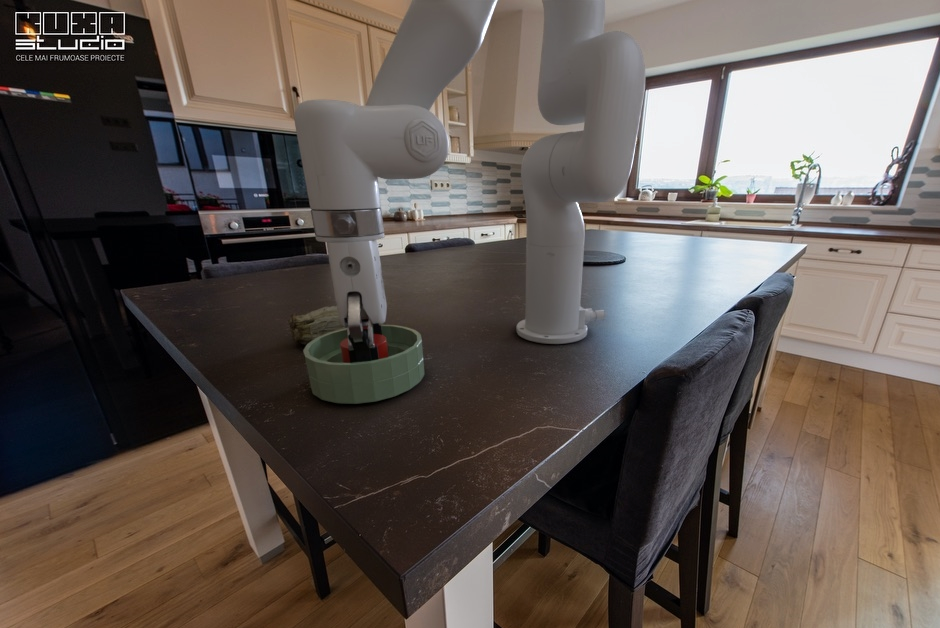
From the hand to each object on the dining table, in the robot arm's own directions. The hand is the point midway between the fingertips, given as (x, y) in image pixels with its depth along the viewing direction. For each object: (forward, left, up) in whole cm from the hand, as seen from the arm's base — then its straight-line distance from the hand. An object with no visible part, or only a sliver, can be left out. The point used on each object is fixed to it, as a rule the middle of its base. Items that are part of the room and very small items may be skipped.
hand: (370, 362), depth 52 cm
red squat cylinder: (0, 0, -2) cm, 2 cm away
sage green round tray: (0, 0, -3) cm, 3 cm away
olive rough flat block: (+7, -19, -3) cm, 21 cm away
